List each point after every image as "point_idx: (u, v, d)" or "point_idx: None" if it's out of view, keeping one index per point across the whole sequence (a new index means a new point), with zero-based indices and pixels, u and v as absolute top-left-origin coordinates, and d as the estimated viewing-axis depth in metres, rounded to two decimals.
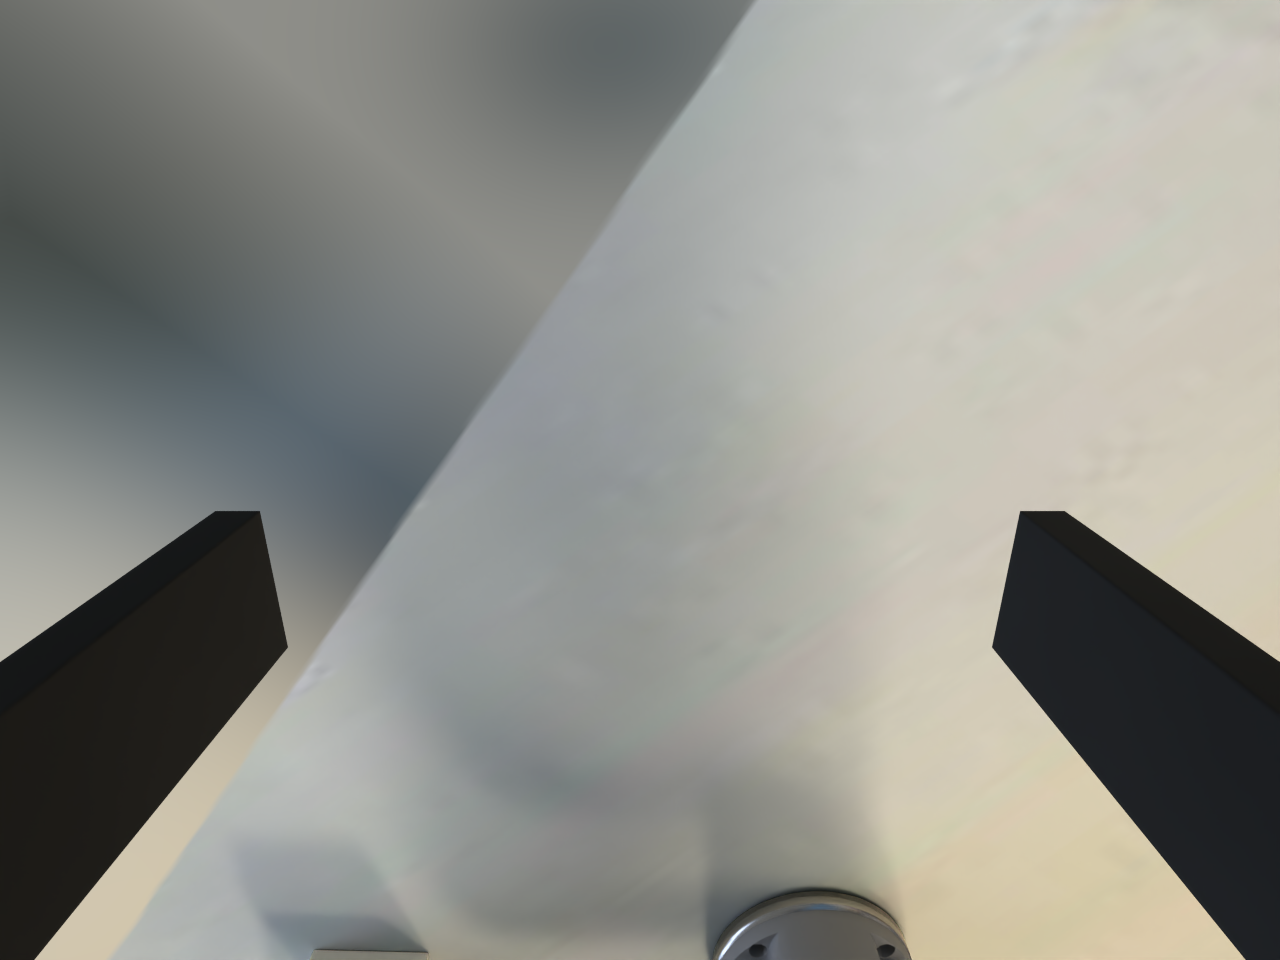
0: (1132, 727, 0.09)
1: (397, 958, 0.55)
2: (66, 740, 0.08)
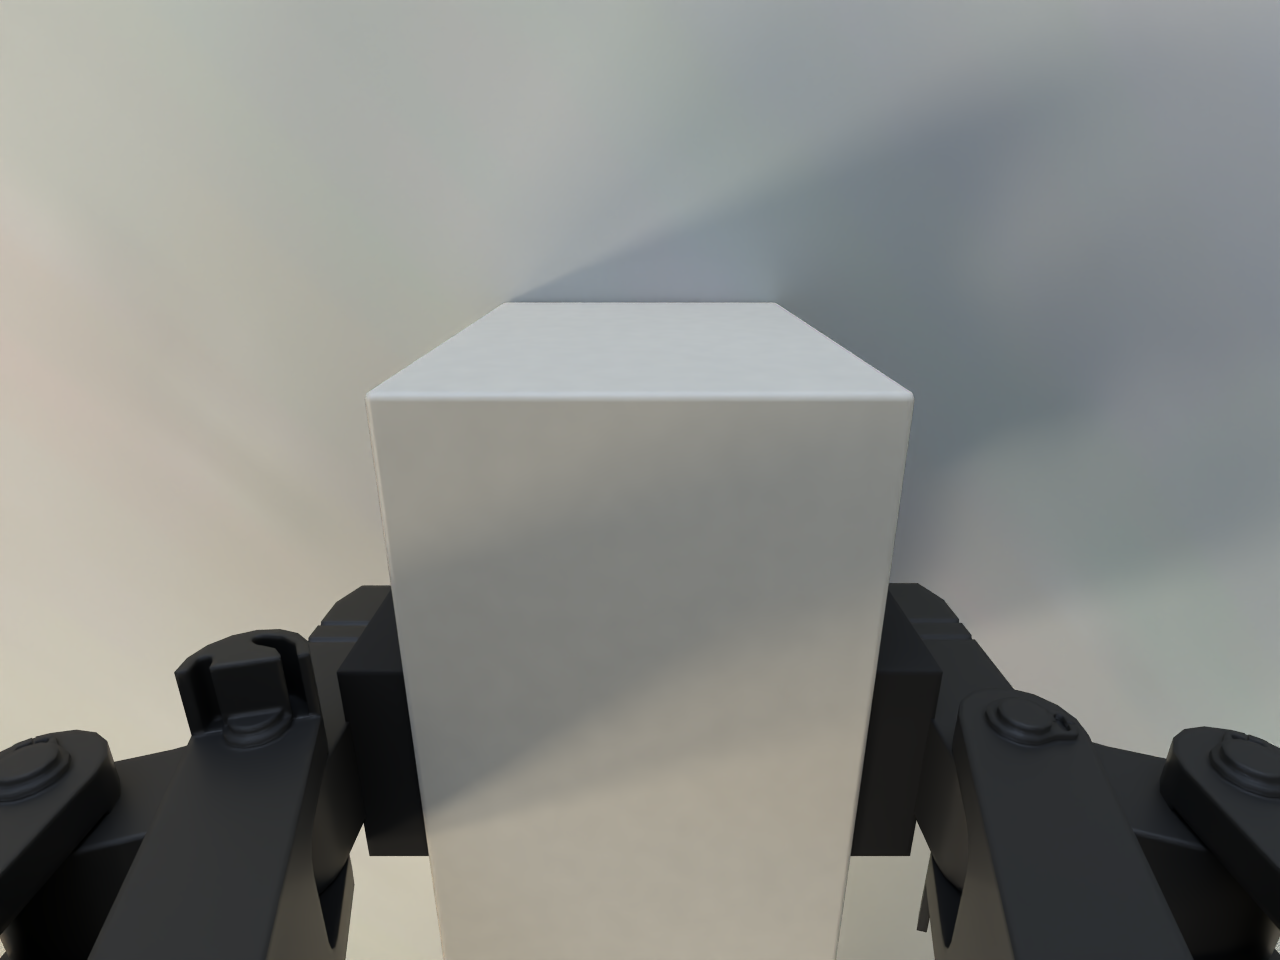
0: None
1: None
2: None
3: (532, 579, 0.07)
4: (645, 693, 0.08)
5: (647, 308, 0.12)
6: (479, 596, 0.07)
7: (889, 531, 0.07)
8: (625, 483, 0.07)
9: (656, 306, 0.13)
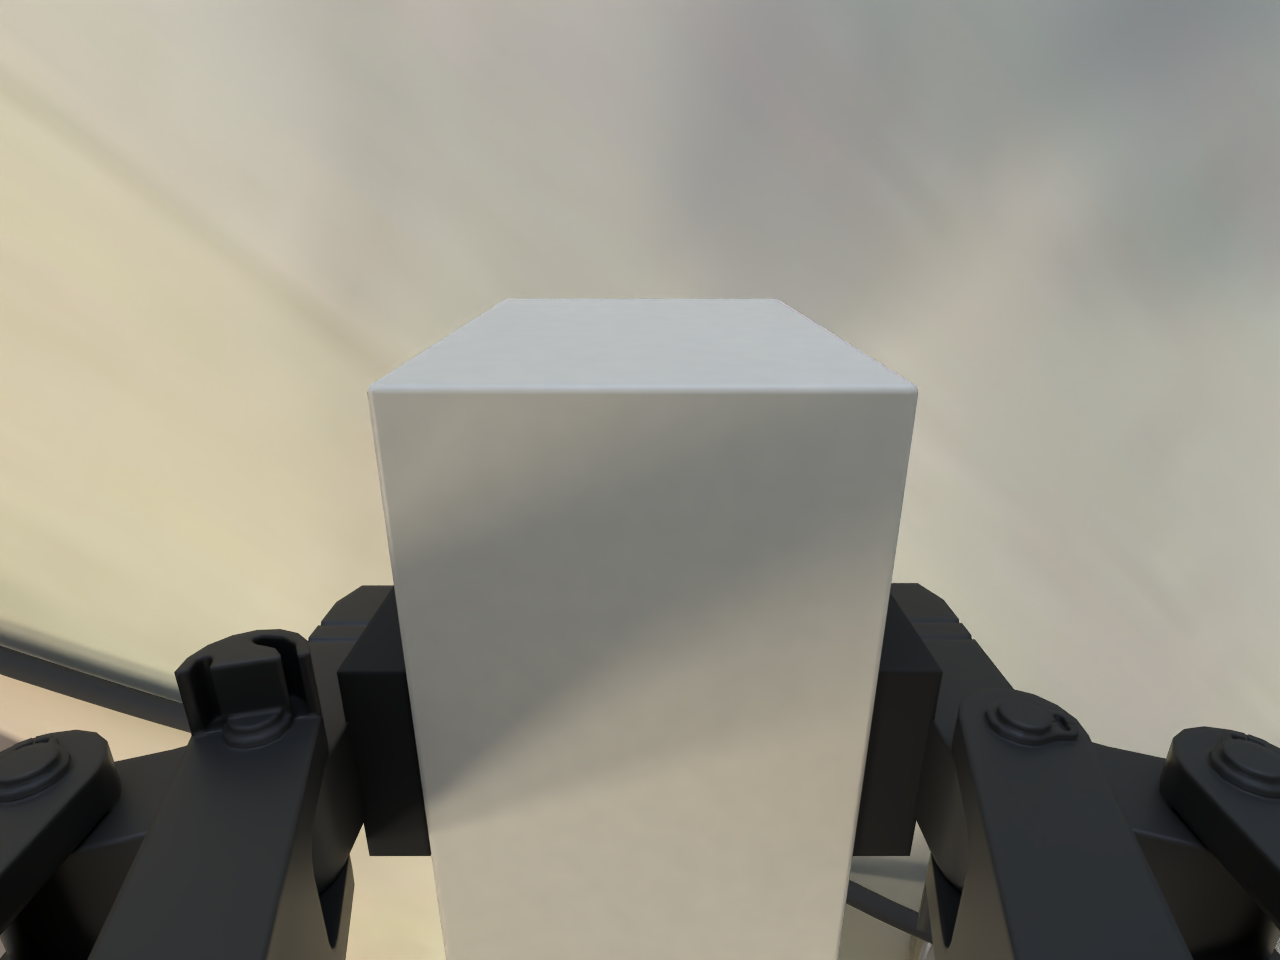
0: None
1: None
2: None
3: (534, 574, 0.07)
4: (648, 687, 0.08)
5: (649, 304, 0.12)
6: (481, 589, 0.07)
7: (892, 524, 0.07)
8: (628, 476, 0.07)
9: (658, 302, 0.13)
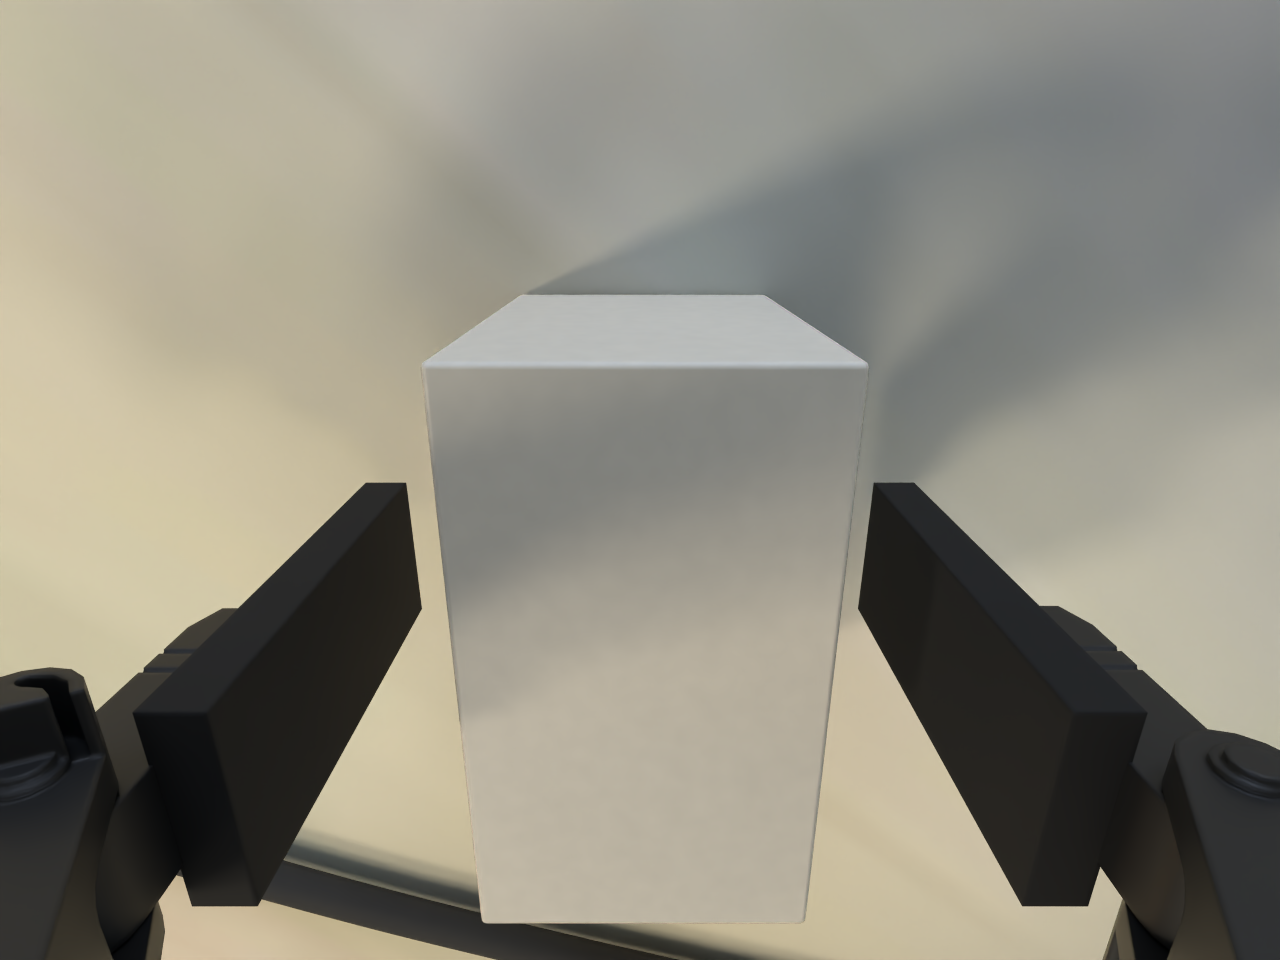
0: (934, 665, 0.10)
1: None
2: (303, 667, 0.09)
3: (555, 518, 0.09)
4: (648, 617, 0.09)
5: (649, 299, 0.14)
6: (511, 532, 0.09)
7: (850, 478, 0.09)
8: (633, 436, 0.08)
9: (657, 298, 0.14)
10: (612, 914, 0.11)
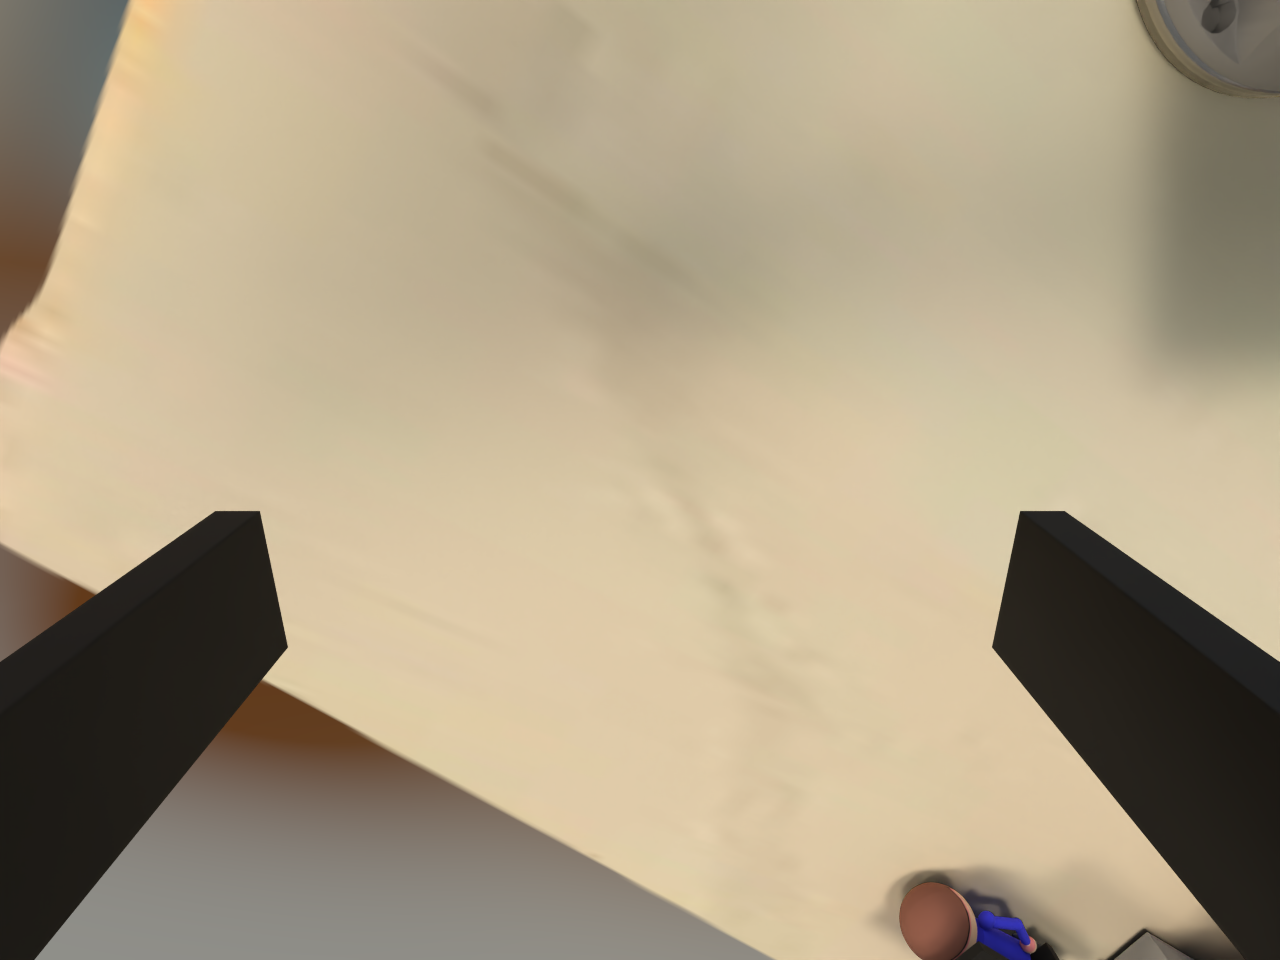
0: (1132, 727, 0.09)
1: None
2: (66, 740, 0.08)
3: None
4: None
5: None
6: None
7: None
8: None
9: None
10: None
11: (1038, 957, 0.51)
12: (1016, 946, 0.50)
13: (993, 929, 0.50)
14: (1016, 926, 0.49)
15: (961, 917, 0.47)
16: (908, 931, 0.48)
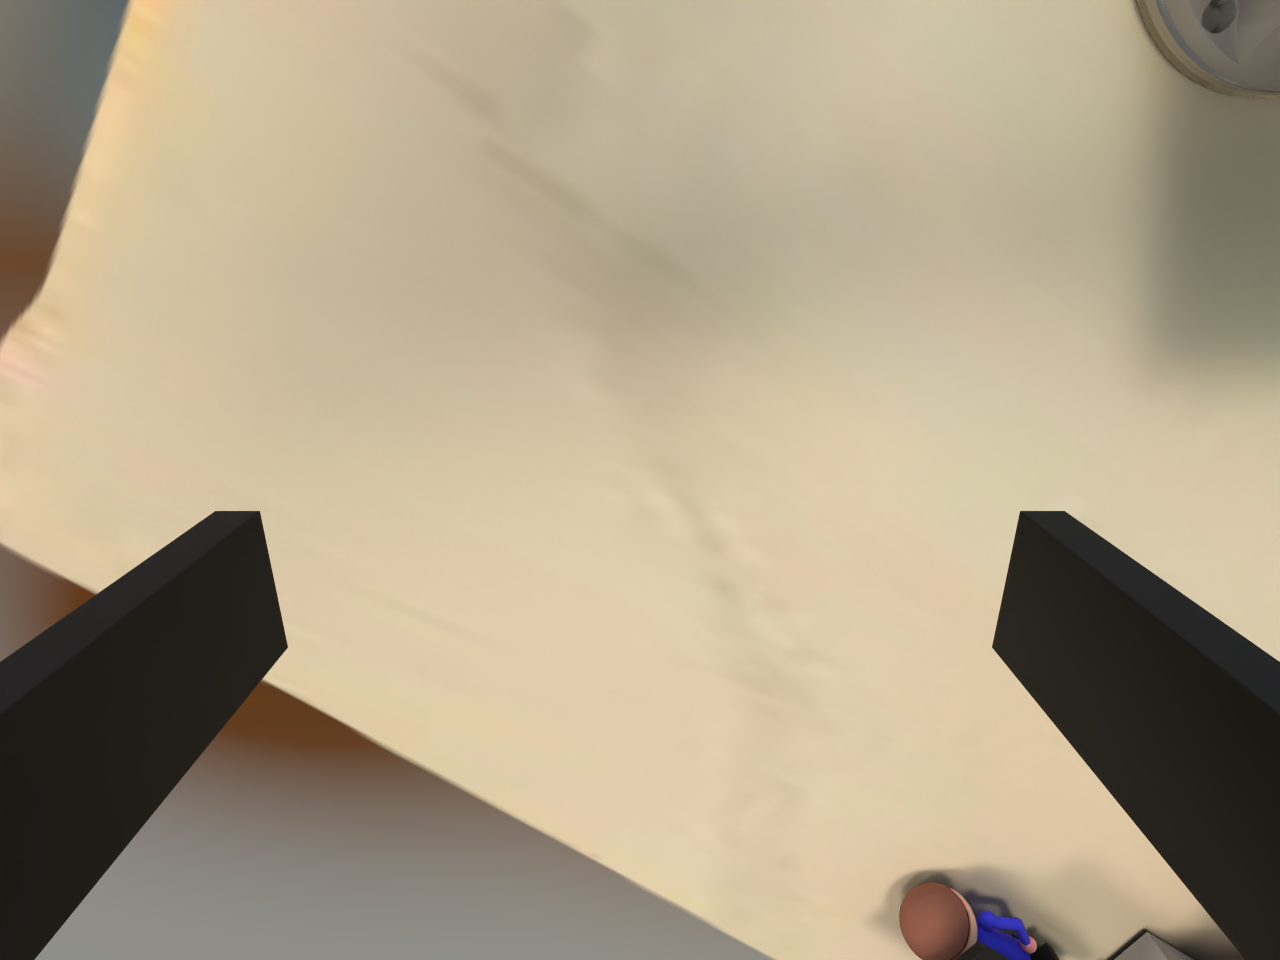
0: (1132, 727, 0.09)
1: None
2: (66, 740, 0.08)
3: None
4: None
5: None
6: None
7: None
8: None
9: None
10: None
11: (1038, 957, 0.51)
12: (1016, 946, 0.50)
13: (993, 929, 0.50)
14: (1016, 926, 0.49)
15: (961, 917, 0.47)
16: (908, 931, 0.48)
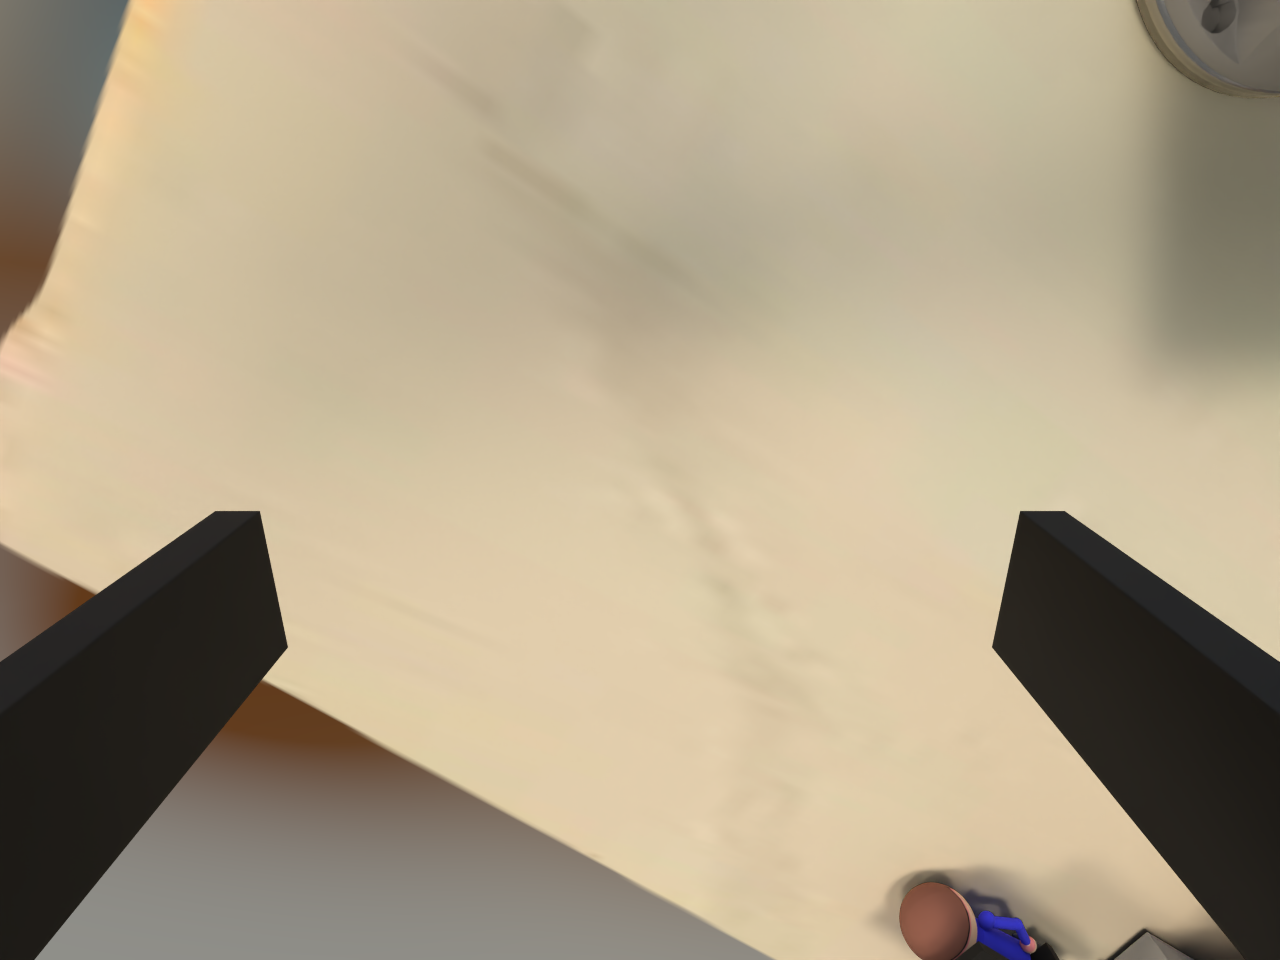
0: (1132, 727, 0.09)
1: None
2: (66, 740, 0.08)
3: None
4: None
5: None
6: None
7: None
8: None
9: None
10: None
11: (1038, 957, 0.51)
12: (1016, 946, 0.50)
13: (993, 929, 0.50)
14: (1016, 926, 0.49)
15: (961, 917, 0.47)
16: (908, 931, 0.48)
